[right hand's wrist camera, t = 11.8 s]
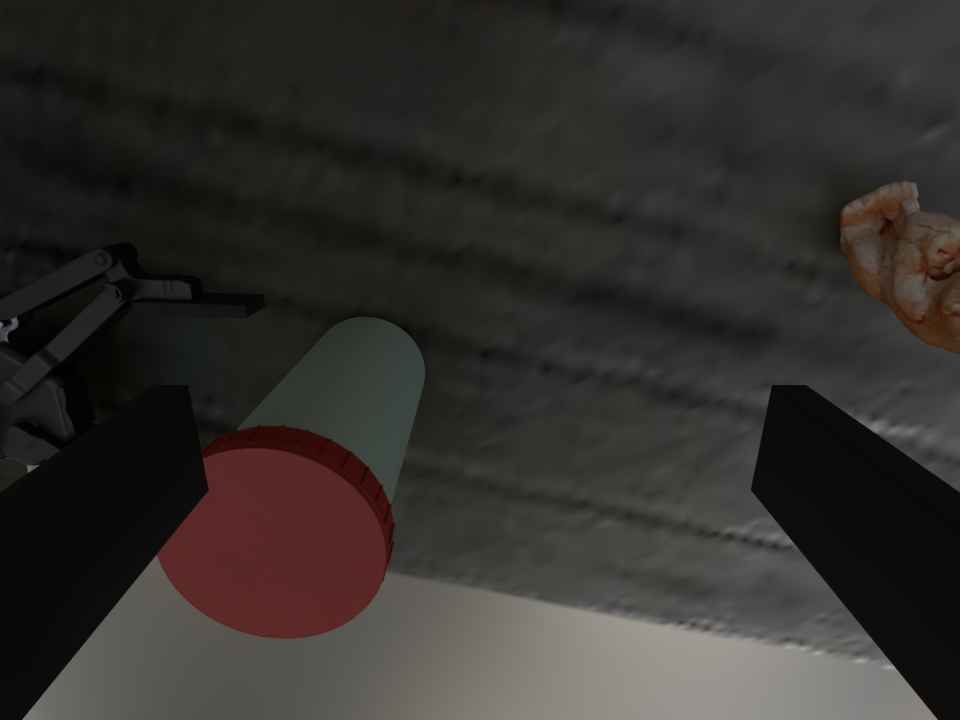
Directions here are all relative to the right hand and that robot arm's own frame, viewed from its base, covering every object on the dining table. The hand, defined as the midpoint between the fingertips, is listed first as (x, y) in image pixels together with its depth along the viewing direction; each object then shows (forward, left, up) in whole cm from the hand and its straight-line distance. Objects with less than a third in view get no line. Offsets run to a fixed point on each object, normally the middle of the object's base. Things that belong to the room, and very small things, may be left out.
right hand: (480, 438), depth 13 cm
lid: (-6, +10, -7) cm, 14 cm away
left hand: (-5, +16, -20) cm, 26 cm away
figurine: (-6, -24, -27) cm, 36 cm away
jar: (-6, +10, -27) cm, 29 cm away
